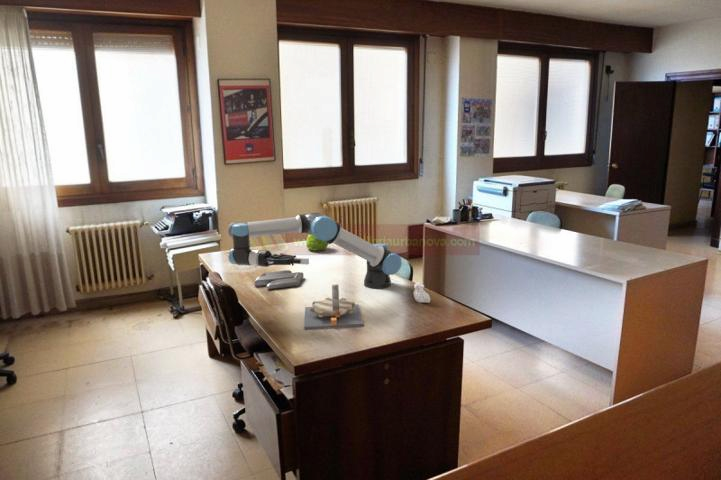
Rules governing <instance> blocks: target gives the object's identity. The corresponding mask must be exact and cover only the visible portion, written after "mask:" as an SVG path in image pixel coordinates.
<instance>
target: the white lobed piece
mask: <svg viewBox="0 0 721 480" xmlns="http://www.w3.org/2000/svg"><path fill="white" fill-rule="evenodd" d="M311 304H312V306H309V307H310V312H311V313H312V312H314V313H316V314H318V316H319V317H323V316H335V317H340V315H344V314H347V313H353V308H354V307H355V305H356V303H355V302H354V301H348V300H347V299H346V297H345V298H343V297H342V298H340V290H339V284H338V283H334V284H331V297H326V298H325V299H321V300H318V301H312V303H311Z"/></svg>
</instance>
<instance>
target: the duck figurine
mask: <svg viewBox="0 0 721 480" xmlns="http://www.w3.org/2000/svg"><path fill="white" fill-rule="evenodd" d="M413 286H414V290H413V292H412V293H413V297H414V300H415V301H416V302H418V303H427V304H429V303H430V302H431V297H430V294H429V293H428V292H426V290H424V288H425V285H424V284H422V283H421V282H419V281H418V282H417V281H416V282H415V283H414V285H413Z"/></svg>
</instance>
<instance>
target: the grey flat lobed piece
mask: <svg viewBox="0 0 721 480" xmlns="http://www.w3.org/2000/svg"><path fill="white" fill-rule="evenodd" d="M303 280H304V273H303V272H292V270H290V269H286V270H279V271H270V272H263V273H262V274H260V275H259V276H258V277H257V278H256V279H255V280H254V288H259V287H258V286H261V287H266V289H267V290H272V289H273V290H274V289H285V288H294V287H298V286H299V285H300V284H301V283H302V281H303Z"/></svg>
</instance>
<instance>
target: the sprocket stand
mask: <svg viewBox="0 0 721 480" xmlns="http://www.w3.org/2000/svg"><path fill="white" fill-rule="evenodd" d="M310 307H311V306H305V307H304V325H303V326H304V330H321V329H337V328H338V329H339V328H356V327H359V328H360V327H364V321H363V317H362V313H361V310H360V305H359V304H355V307H354V308H353V313H347V314H344V315H340V317H335V316H323V317H319V316H318V314H316V313H314V312H312V313H311V312H310Z"/></svg>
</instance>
